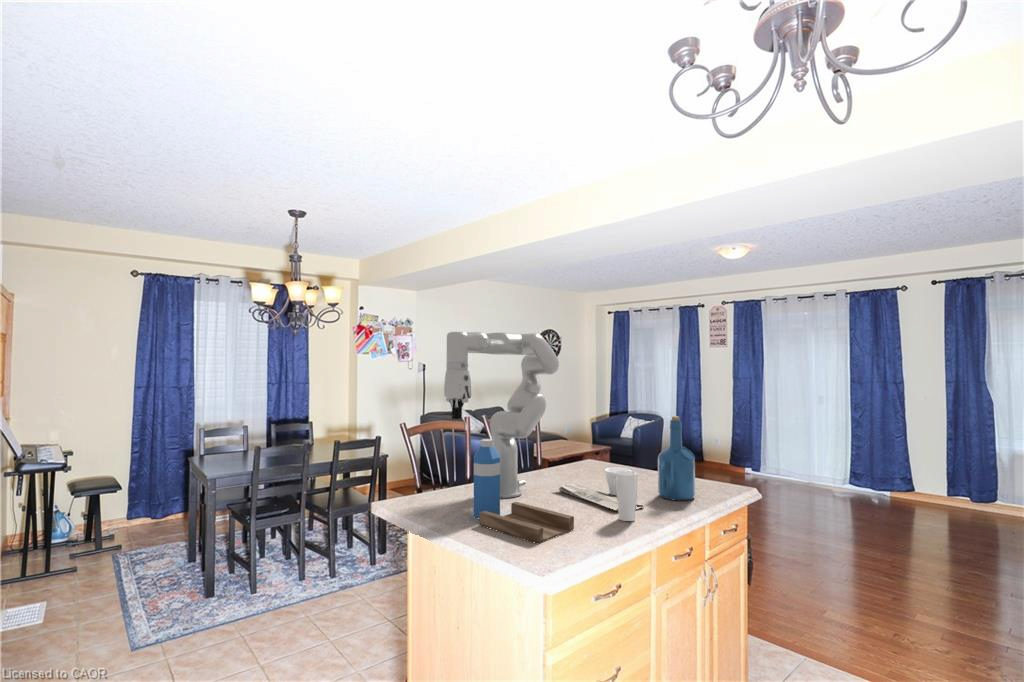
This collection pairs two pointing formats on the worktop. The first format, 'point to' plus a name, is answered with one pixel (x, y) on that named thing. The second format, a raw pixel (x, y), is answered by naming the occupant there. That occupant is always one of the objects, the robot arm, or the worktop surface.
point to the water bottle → (486, 479)
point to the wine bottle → (676, 467)
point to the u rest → (528, 522)
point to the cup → (613, 478)
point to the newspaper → (592, 496)
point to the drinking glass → (626, 494)
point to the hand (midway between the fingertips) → (456, 418)
